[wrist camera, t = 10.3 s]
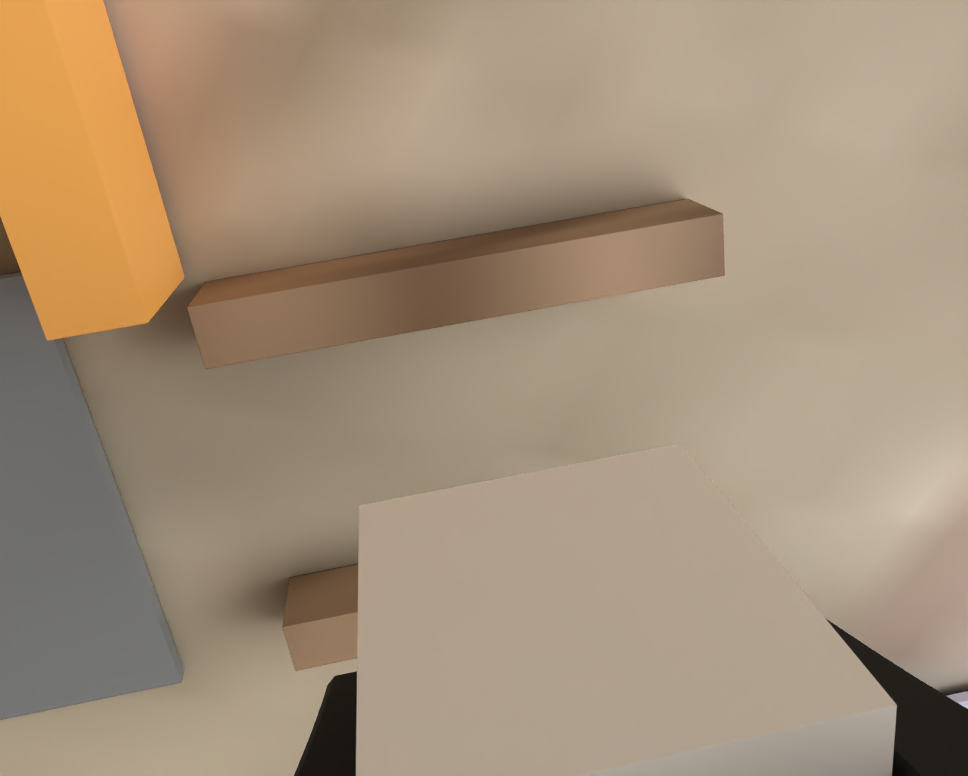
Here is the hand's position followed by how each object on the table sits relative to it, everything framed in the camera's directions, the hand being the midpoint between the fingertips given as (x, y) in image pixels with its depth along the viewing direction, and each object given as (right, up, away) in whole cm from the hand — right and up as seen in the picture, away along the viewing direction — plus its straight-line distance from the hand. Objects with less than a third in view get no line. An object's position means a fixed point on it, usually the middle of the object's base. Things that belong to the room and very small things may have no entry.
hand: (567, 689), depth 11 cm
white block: (0, +1, +1) cm, 2 cm away
